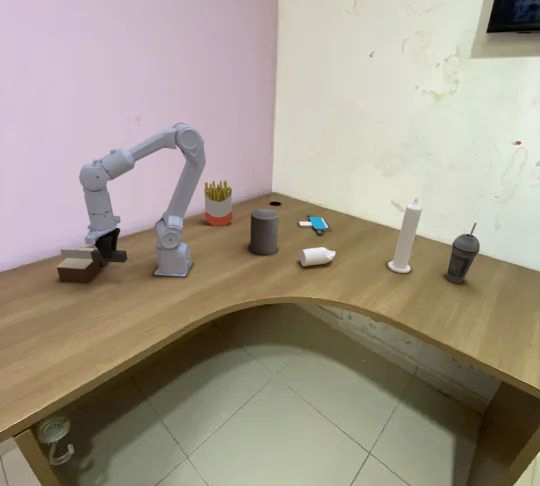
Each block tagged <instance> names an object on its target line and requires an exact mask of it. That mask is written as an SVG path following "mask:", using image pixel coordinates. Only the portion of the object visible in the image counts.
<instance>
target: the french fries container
mask: <svg viewBox="0 0 540 486" xmlns="http://www.w3.org/2000/svg"><path fill="white" fill-rule="evenodd" d="M204 207H205V208H204V212H205V221H206V222H207V223H208V224H210V225H211V226H213V227H215V226H227V225H228V224H229V223H230V222H232V221H233V188H232V187H231V185H228V181H227V180H223V182H222V180H219V183H217V184H216V181H215V180H212V182H211V183H209V185H208V181H205V182H204Z"/></svg>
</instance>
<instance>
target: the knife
mask: <svg viewBox="0 0 540 486" xmlns="http://www.w3.org/2000/svg"><path fill="white" fill-rule="evenodd" d="M59 251H60V255H61V258H62V259H66V258H77V259H92V261H101V262H108V263H126V262H127V261H128V254H127V250H123V249H122V250H119V249H116V250H111V251H112V257H111V259H103V257H102V256H101V254H100V252H99V250H98V249H97V248H94V250H93V251H88V250H78V249H65V248H61V249H59Z"/></svg>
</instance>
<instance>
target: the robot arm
mask: <svg viewBox="0 0 540 486" xmlns="http://www.w3.org/2000/svg"><path fill="white" fill-rule="evenodd" d="M178 148H179V150H180V152H181V154H182V155H183V158H184V160H185V164H184V166H183V168H182V171H181V173H180V176H179V179H178V181H177V183H176V186H175V188H174V191H173V193H172V196H171V199H170V201H169V204H168V206H167V208H166V210H165V211H164V212H163V213H162V215H161V217H160V219H158V220H157V221H156V222H155V224H154V226H153V231H154V233H155V234H156V236H157V240H156V242H155V248H156V255H157V264H158V267H157V269H156V270H155V271H154V275H155V276H167V277H181V278H182V277H184V278H185V277H186V276H187V274H188V272H189V270H190V268H191V267H192V264H193V263H192V256H191V246H190V245H189V244H187V243H184V242H182V231H183V229H184V218H185V216H186V213H187V210H188V208H189V206H190V203H191V201H192V199H193V196H194V193H195V191H196V189H197V187H198V183H199V181H200V179H201V176H202V174H203V171H204V169H205V167H206V164H207V160H206V152H205V140H204V138H203V137H202V135H201V133H200V132H199V130H198V129H197V128H196V127H194V126H191V125H189V124H187V123H185V122H177V123H175V124H174V125H171V126H168V127H166V128H164V129H161V130H160V131H157V132H156V133H154V134H153V135H151V136H150V137H148V138H146V139H144V140H143V141H141V142H139V143H137V144H136V145H134V146H132V147H130V148H129V149H125V148H121V147H119V148H118V149H116V148H115V147H114V148H113V147H112V149H110V150H109V152H110V153H108V154H106V155H104V156H102V157H100V158H99V159H97V158H94V159H92V163H91V162H89V163H86V164H84V165H83V166H82V167H81V168H80V171H79V175H78V179H79V183H80V185H81V186H82V191H83V193H84V195H83V197H84V202H85V206H86V210H87V215H88V219H89V224H88V225H87V226H86V227H87V228H86V229H88V230H89V231H88V232H87V234H86V236H85V237H84V242H85V245H89V246H90V245H91V246H94V247H95V249H98V250H99V252H100V254H101V256H102V257H103V259H111V257H112V251H111V250H117V247H118V246H117V245H118V239H119V236H120V233H121V228H120V227H117V226H118V224H120V223H121V222H122V220H121V216H120V215H114V212H113V205H112V201H111V195H110V192H109V190H108V185H107V184H108V182H110V181H114V180H115V179H117V178H118V177H119V178H120V177H121V176H122V175H124V174H127V173H128V172H130V171H131V170H133V169H135V166H136V162H137V161H140V160H142V159H144V158H146V157H148V156H150V155H152V154H155V153H156V152H158V151H160V150H162V149H170V150H177V149H178Z"/></svg>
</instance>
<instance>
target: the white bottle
mask: <svg viewBox="0 0 540 486" xmlns="http://www.w3.org/2000/svg"><path fill="white" fill-rule="evenodd" d="M298 255H299V262H300V264H301V266H302V267H309V266H317V265H323V264H324V265H325V264H328V263H329V262H331V261H332V260H333V259H334V258H335V256H336V251H334V250H330V249H328V248H326V247H324V246H321V247H311V248H310V247H309V248H305V249H301V250H299V253H298Z"/></svg>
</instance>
